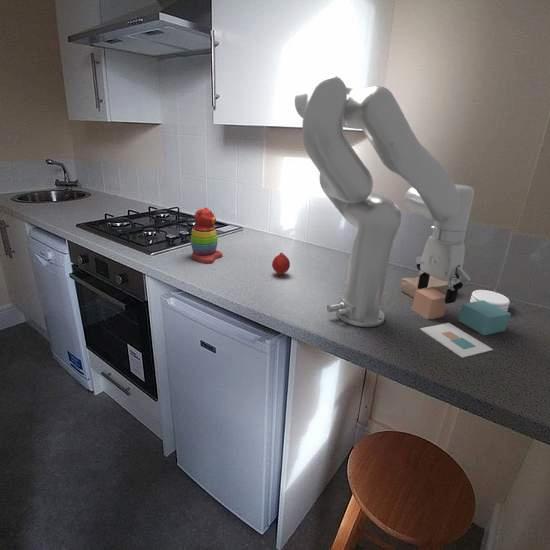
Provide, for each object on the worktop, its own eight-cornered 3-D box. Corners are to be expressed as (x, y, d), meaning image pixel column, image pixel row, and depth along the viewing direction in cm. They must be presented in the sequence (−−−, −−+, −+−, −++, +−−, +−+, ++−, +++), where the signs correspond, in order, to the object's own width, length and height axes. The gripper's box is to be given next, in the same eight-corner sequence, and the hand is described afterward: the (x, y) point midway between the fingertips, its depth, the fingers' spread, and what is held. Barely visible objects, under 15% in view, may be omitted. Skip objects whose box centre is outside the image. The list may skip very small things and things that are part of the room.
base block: (483, 335, 91) (489, 317, 89) (457, 320, 97) (462, 303, 96) (505, 330, 94) (511, 313, 92) (478, 316, 101) (483, 300, 99)
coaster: (473, 296, 114) (476, 286, 113) (509, 307, 108) (513, 296, 107) (465, 306, 107) (468, 295, 105) (503, 318, 101) (507, 307, 100)
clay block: (427, 319, 97) (432, 299, 95) (411, 309, 102) (415, 290, 100) (443, 316, 99) (448, 297, 97) (427, 307, 104) (432, 288, 102)
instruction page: (462, 357, 81) (462, 356, 81) (419, 329, 92) (420, 328, 91) (492, 350, 84) (493, 349, 84) (448, 323, 95) (448, 322, 95)
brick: (434, 284, 121) (437, 271, 120) (455, 294, 115) (459, 281, 113) (398, 291, 114) (401, 278, 112) (419, 303, 107) (422, 288, 105)
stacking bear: (210, 264, 124) (210, 213, 118) (184, 259, 127) (183, 209, 120) (224, 255, 134) (225, 208, 127) (200, 251, 137) (199, 204, 130)
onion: (273, 270, 123) (275, 248, 120) (290, 273, 122) (292, 250, 119) (269, 276, 118) (271, 253, 114) (287, 279, 117) (289, 255, 114)
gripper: (412, 227, 98) (402, 284, 105) (466, 246, 84) (450, 311, 90) (433, 225, 101) (422, 281, 107) (488, 242, 86) (472, 306, 93)
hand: (435, 294), depth 99 cm, fingers open, 9 cm apart
